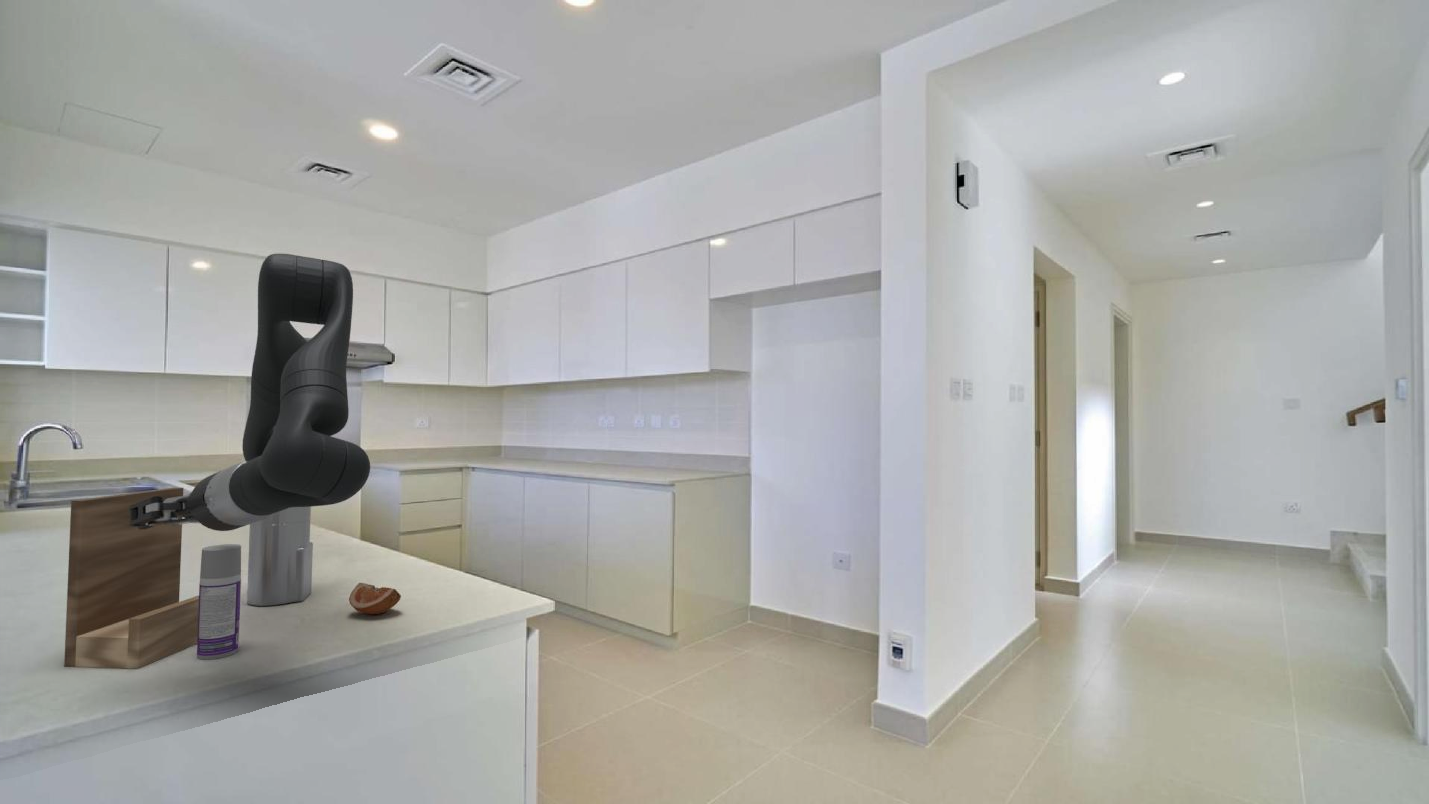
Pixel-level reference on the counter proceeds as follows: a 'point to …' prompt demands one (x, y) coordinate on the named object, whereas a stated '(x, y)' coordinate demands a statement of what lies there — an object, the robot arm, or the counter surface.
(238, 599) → the container
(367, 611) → the fruit slice
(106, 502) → the board
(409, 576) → the counter surface
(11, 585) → the counter surface
